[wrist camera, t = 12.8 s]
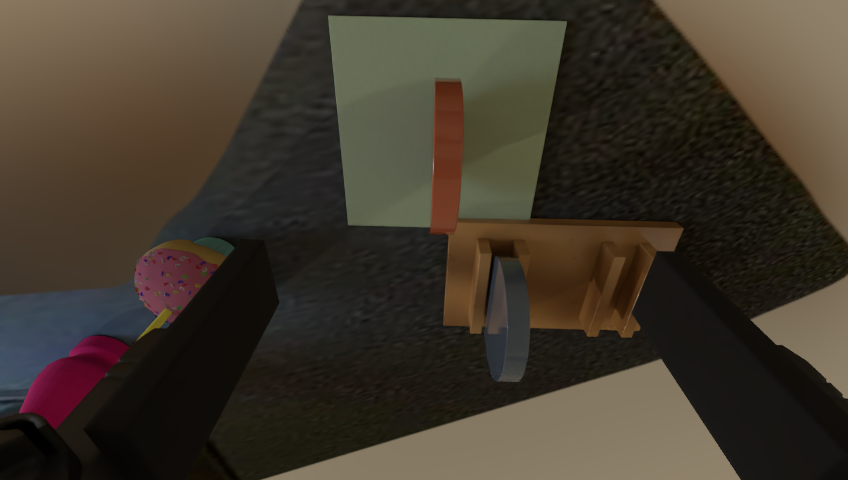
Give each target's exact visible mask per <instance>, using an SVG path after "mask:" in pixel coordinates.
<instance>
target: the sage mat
mask: <svg viewBox="0 0 848 480" xmlns="http://www.w3.org/2000/svg"><path fill="white" fill-rule="evenodd" d="M328 19H329V29H330V40H331V50H332V60H333V71H334V81H335V92H336V102H337V112H338V123H339V133H340V144H341V154H342V164H343V175H344V185H345V196H346V206H347V216H348V225H362V226H401V227H430V183H431V146H432V115H433V90H434V78H435V77H452V78H460V79H461V81H462V87H463V103H464V136H463V164H462V181H461V194H460V205H459V214H458V218H469V219H508V220H530V216H531V211H532V205H533V200H534V195H535V189H536V184H537V179H538V173H539V168H540V163H541V157H542V152H543V147H544V141H545V136H546V131H547V126H548V120H549V115H550V110H551V104H552V99H553V94H554V88H555V83H556V78H557V72H558V67H559V62H560V57H561V51H562V46H563V41H564V35H565V30H566V25H567V21H540V20H498V19H456V18H414V17H371V16H328Z"/></svg>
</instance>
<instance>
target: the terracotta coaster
mask: <svg viewBox="0 0 848 480" xmlns="http://www.w3.org/2000/svg"><path fill="white" fill-rule="evenodd" d="M463 136H464V103H463V87H462V81H461V79H460V78H452V77H435V78H434V90H433V115H432V146H431V183H430V234H431V235H454V233H455V231H456V227H457V221H458V214H459V205H460V194H461V181H462V164H463Z"/></svg>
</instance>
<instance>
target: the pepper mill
mask: <svg viewBox="0 0 848 480" xmlns="http://www.w3.org/2000/svg"><path fill="white" fill-rule="evenodd" d="M128 348H129V346H127V345H126V344H125V343H123V342H121V341H119V340H117V339H114V338H111V337H107V336H90V337H87V338H85V339H83V340H82V341H81V342H80V343H79V344H78V345H77V346H76V347H75V348H74V349H73V350H72V351H71V352H70V354H69V357H66V358H62V359H59V360H56V361H54V362H52V363H50V364H49V365H48V366H47V367H45V369H44V370H43V371H42V372H41V373H40V374H39V375H38V376H37V378H36V379H35V380H34V382H33V384H32V385H31V387H30V389H29V391H28V393H27V396H26V398H25V401H24V403H23V405H22V408H21V410H20V412H19V413H29V412H34V413H36V414H39V415H41V416H43V417H44V418H45V419H46V420H47V421H48V422H49V424H50V425H51V426H52V427H53V428H54V429H56V428H57V427H58V426H59V425H60V424H61V423H62V421H63V420H64V419H65V418H66V417H67V416H68V415H69V414H70V413H71V411H72V410H73V409H74V408H75V407H76V406H77V405H78V404H79V403H80V401H81V400H82V399H83V398H84V397H85V396H86V395H87V394H88V393H89V391H90V390H91V389H92V388H93V387H94V386H95V385H96V384H97V383H98V382H99V380H100V379H101V378H104V377H105V375H106V373H107V372H108V370H109V369H110V368H111V367H112V366H113V365H114V364H115V363H118V359H119V358H120V357H121V356H122V355H123V354H124V353H125V352H126V350H127V349H128Z"/></svg>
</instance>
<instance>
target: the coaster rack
mask: <svg viewBox="0 0 848 480" xmlns="http://www.w3.org/2000/svg"><path fill="white" fill-rule="evenodd" d="M683 229H684V228H683V227H681V226H680V225H679V224H678V223H677V222H656V221H618V220H579V219H540V218H530V220H508V219H469V218H458V221H457V227H456V231H455V233H454V235H449V236H448V252H447V268H446V284H445V299H444V315H443V321H444V326H470V332H471V333H479V334H481V330H482V327H484V308H485V301H486V294H487V286H488V279H489V272H490V264H491V259H492V258H493V257H494V256H515V257H516V258H517V259H518V260H519V261H520V263H521V265H522V268H523V271H524V274H525V279H526V283H527V289H528V297H529V308H530V328H554V329H584V330H585V332H586V334H587V336H595V337H597V336H598V334H599V331H600V330H617V331H618V332H619V334H620V336H621V337H632V335H633V333H634V331H639V330H640V328H641V327H640V326H639V324H638V323H637V321H636V320H635V318H634V316H633V315H632V313H631V312H632V309H633V307H634V305H635V302H636V300H637V298H638V295H639V293H640V290H641V288H642V286H643V283H644V281H645V278H646V276H647V274H648V271H649V269H650V266H651V264H652V262H653V259H654V257H655V255H656V252H657V251H674V250H675V247H676V245H677V243H678V241H679V238H680V236H681V234H682V231H683Z"/></svg>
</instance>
